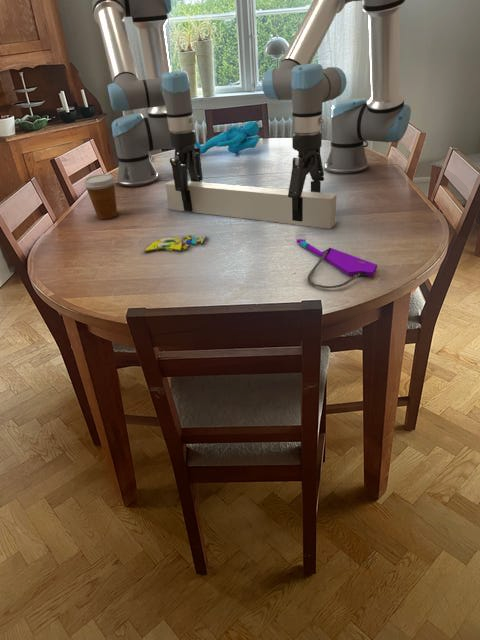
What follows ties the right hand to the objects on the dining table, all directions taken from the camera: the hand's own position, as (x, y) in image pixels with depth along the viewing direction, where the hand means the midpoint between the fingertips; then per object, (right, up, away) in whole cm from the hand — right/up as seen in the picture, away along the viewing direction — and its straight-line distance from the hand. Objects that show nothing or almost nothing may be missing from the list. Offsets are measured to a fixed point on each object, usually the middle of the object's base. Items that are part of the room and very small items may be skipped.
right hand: (306, 212), depth 134 cm
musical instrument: (+1, -18, -22) cm, 28 cm away
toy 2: (-25, +43, +75) cm, 90 cm away
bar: (-17, +1, +10) cm, 20 cm away
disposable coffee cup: (-61, +3, +20) cm, 64 cm away
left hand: (-34, +6, +18) cm, 39 cm away
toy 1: (-36, -10, -4) cm, 38 cm away
